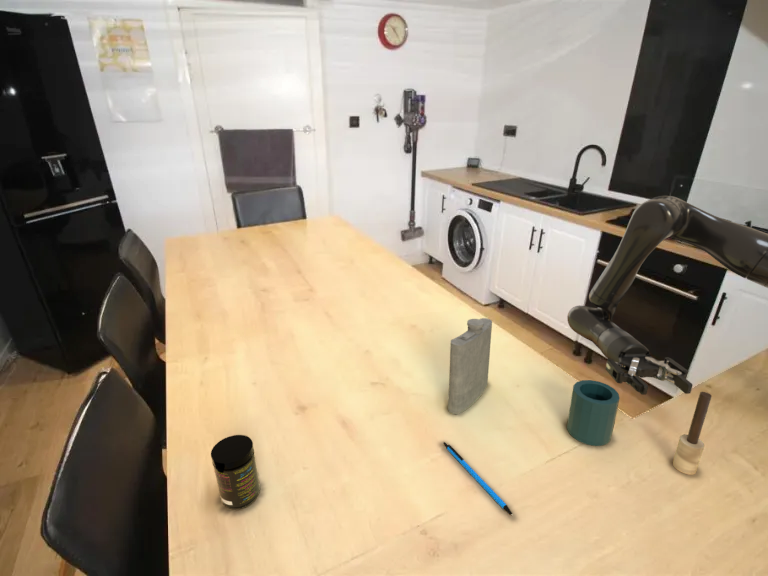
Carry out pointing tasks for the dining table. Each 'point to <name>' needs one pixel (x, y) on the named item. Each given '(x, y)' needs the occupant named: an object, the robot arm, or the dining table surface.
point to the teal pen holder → (592, 412)
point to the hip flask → (469, 365)
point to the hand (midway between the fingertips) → (667, 390)
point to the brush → (692, 439)
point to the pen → (478, 478)
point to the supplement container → (236, 471)
